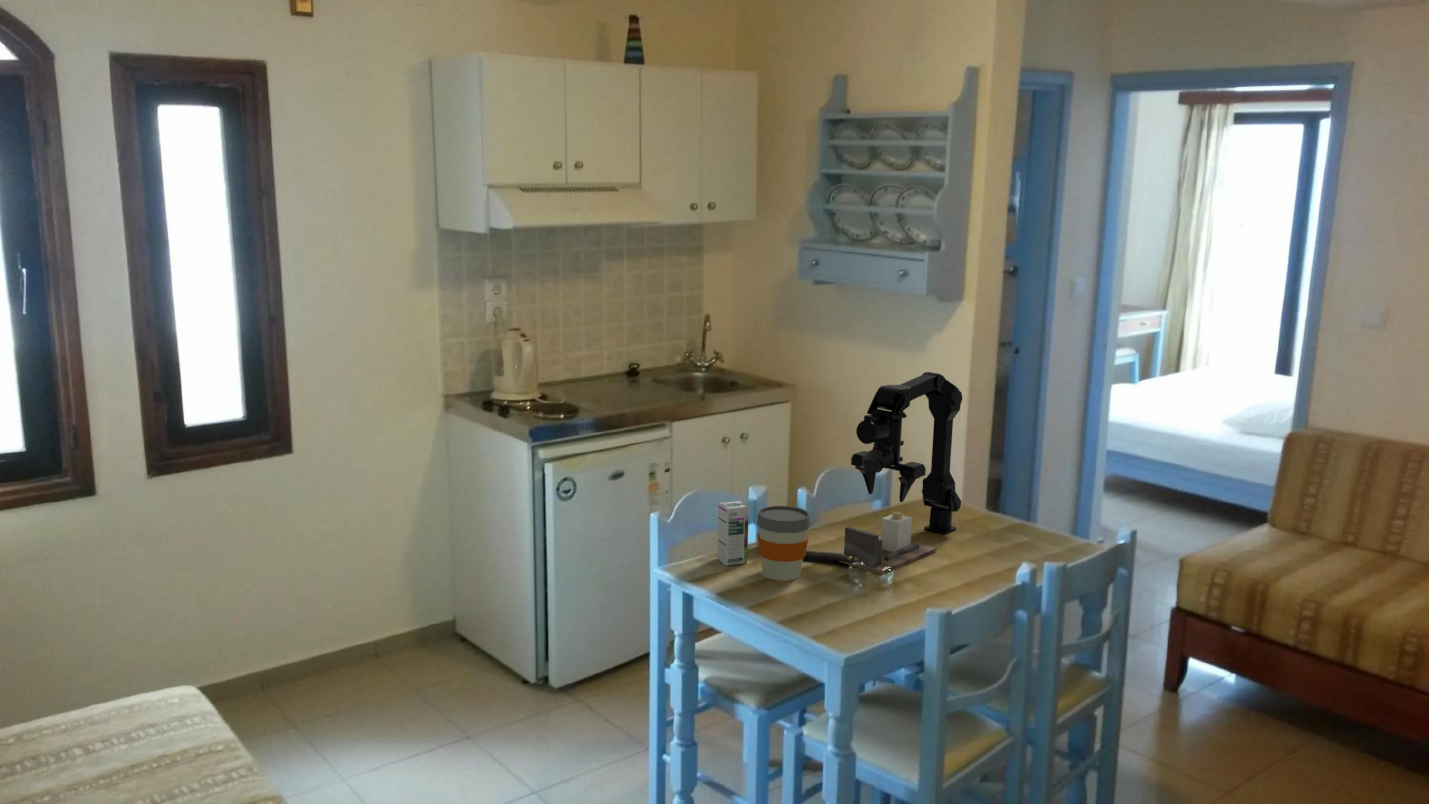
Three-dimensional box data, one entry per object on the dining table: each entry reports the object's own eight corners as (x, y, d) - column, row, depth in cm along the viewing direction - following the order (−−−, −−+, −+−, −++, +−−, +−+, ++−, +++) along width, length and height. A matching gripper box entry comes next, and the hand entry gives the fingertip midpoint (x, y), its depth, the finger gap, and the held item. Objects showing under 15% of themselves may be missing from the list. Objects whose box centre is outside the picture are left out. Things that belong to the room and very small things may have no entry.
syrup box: (726, 566, 262) (727, 508, 259) (716, 558, 267) (717, 501, 265) (747, 563, 264) (749, 506, 261) (737, 555, 270) (739, 499, 267)
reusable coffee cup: (747, 578, 254) (750, 517, 251) (764, 561, 266) (766, 502, 263) (799, 586, 250) (802, 524, 247) (813, 569, 262) (816, 509, 259)
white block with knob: (893, 543, 279) (895, 508, 277) (910, 547, 276) (912, 513, 274) (880, 548, 275) (882, 513, 273) (896, 553, 271) (899, 518, 269)
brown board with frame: (889, 538, 286) (891, 505, 284) (935, 551, 276) (938, 518, 275) (834, 560, 268) (836, 525, 267) (881, 575, 259) (884, 538, 257)
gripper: (839, 435, 269) (836, 496, 273) (903, 449, 257) (899, 513, 260) (865, 428, 277) (862, 487, 281) (928, 442, 265) (924, 503, 268)
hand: (885, 497), depth 272 cm, fingers open, 9 cm apart
